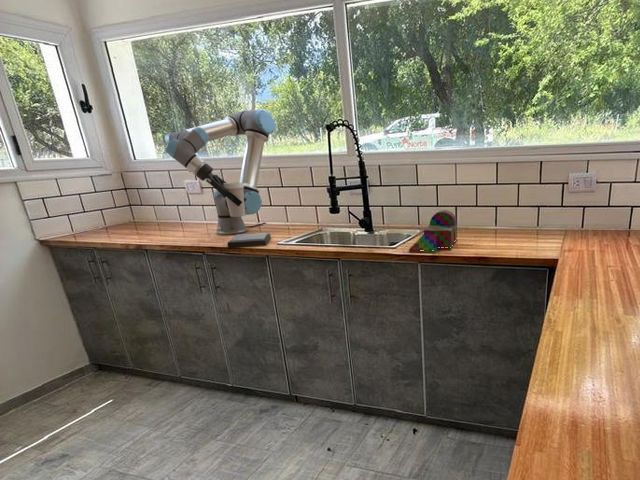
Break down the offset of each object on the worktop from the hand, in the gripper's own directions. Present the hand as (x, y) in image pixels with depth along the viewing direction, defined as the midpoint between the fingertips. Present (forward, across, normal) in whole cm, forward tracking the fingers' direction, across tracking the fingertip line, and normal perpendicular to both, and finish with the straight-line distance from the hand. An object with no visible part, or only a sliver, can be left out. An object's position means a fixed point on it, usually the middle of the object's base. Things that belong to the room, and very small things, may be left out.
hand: (242, 202), depth 211 cm
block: (+73, +35, +47) cm, 94 cm away
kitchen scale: (+14, +1, -13) cm, 19 cm away
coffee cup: (+2, 0, -6) cm, 7 cm away
